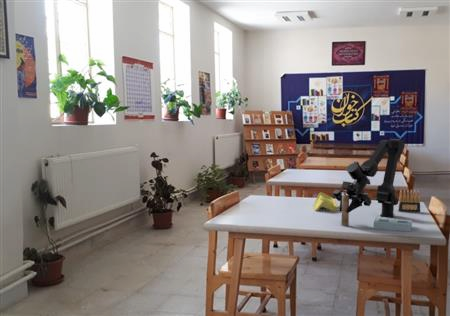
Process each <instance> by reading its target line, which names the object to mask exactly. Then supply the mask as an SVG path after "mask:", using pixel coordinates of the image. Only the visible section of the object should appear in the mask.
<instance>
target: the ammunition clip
mask: <svg viewBox="0 0 450 316" xmlns="http://www.w3.org/2000/svg"><path fill="white" fill-rule="evenodd" d="M398 198H399V199H398V210H397V211H398V212H399V213H421V193H420V189H418V190H416V189H414V191H413V189H410V190H409V189H407V191H406V189H404V188H403V190H402V188H400V191H399V197H398Z"/></svg>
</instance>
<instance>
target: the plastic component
mask: <svg viewBox="0 0 450 316" xmlns="http://www.w3.org/2000/svg"><path fill="white" fill-rule="evenodd" d="M322 207H323V208H325V209H327V210H329V211H331V212H336V211H337V209H339V208H338V207H339V206H338V203H337V201H336V200H335V199H334V198H333V197H332V196H330V195H328V194H326V193H325V192H319V193H318V195H317V197H316V199H315V201H314V204H313V210H314V211H315V212H318V211H320V209H321V208H322Z"/></svg>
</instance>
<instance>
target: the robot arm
mask: <svg viewBox="0 0 450 316" xmlns="http://www.w3.org/2000/svg"><path fill="white" fill-rule="evenodd" d="M405 146H406V143H405V141H404V140H403V139H400V138H399V139H398V138H390V139H388V140H387V139H382V140H380V141H379V143H378V146H377V147H376V149H375V150H374V152H373V153H372V154H371V155H370V157H369V158H368V159H367V160H365V161H363V163H362V164H360V162H359V161H353V163H351V164H349V165H347V166H346V168H345V170H346V172H347V173H348V175H349V176H350V177H351V179H352V180H354V181H352V182H351V181H344V180H343V181H342V184H341V188H340V189H343V190H344V191H345V192H343V190H339V189H334V190H333V192H332V195H333V196H334V197H335V199H336V200H337V201H338V202H339V206H338V207H339V208H338V212H340V213H342V195H349V200H351V202H350V203H349V207H348V209H347V211H346V212H347V213H349V214H350V212H352V211H353V210H356V209H357V208H360V207H363V206H366V207H371V204H372V199H371V198H370V197H369V195H368V194H367V193H365V191H364V190H365V188H366V186H367V185H369V186H370V185H371V181H370V178H373V177H375V176H376V174H377V173H378V169H379V167H378V166H379V164H380V162H381V161H382V159H383V158H384V156H385V155H386V154H387V160H386V166H385V169H384V174H383V180H382V181H383V182H382V183H381V184H379V185H378V186H377V190H376V198H377V203H378V204H381V213H380V217H384V218H387V217H388V218H394V217H395V215H396V214H395V213H394V211H395V210H394V209H395V208H394V207H395V206H397V205H399V199H398V197H397V196H396V190H395V186H394V182H395V177H396V171H397V166H398V162H399V157H400V156H401V155H402V154H403V153H404V149H405ZM368 177H369V178H368Z"/></svg>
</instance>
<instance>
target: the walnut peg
mask: <svg viewBox="0 0 450 316" xmlns="http://www.w3.org/2000/svg"><path fill="white" fill-rule="evenodd" d="M349 205H350V199H349V195H342V211H341V226H342V227H348V226H350V225H349V224H350V223H349V217H350V216H349V215H350V212H349V213H347V212H346V211H347V209H348V207H349Z"/></svg>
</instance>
